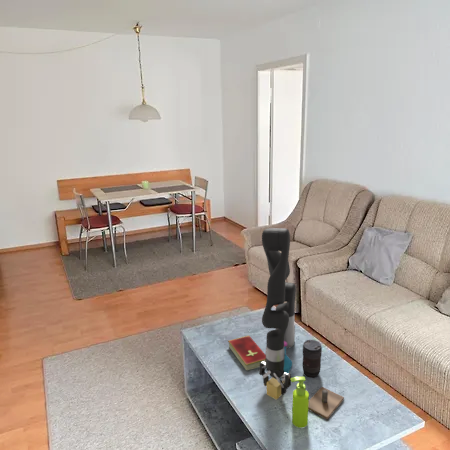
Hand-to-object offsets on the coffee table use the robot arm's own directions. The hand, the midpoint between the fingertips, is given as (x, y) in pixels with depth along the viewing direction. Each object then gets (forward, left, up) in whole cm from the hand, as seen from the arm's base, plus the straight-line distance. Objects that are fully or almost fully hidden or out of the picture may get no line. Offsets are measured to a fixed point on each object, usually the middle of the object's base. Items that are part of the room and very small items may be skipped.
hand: (274, 389), depth 168 cm
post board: (-8, +18, -3) cm, 20 cm away
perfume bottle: (-14, -6, -3) cm, 16 cm away
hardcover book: (-14, -25, -3) cm, 29 cm away
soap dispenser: (+7, +16, -3) cm, 17 cm away
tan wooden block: (0, 0, -3) cm, 3 cm away
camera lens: (-21, +5, -3) cm, 22 cm away
